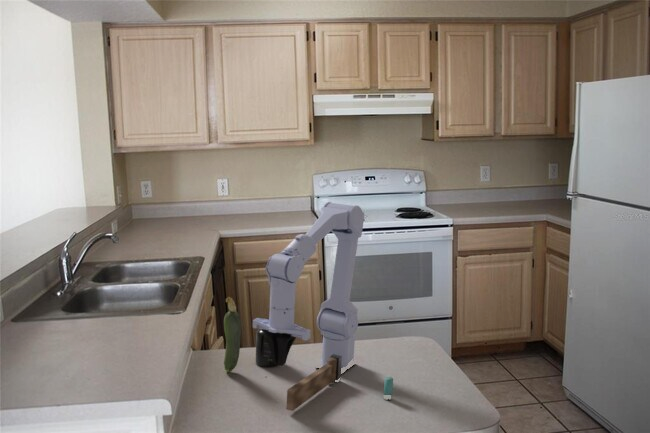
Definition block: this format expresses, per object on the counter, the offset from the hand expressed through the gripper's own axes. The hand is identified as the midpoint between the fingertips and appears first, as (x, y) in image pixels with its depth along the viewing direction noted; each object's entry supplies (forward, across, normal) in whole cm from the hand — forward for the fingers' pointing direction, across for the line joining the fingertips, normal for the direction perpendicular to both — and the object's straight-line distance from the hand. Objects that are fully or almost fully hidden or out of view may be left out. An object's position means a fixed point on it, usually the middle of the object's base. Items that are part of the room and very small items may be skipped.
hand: (279, 363), depth 135 cm
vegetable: (+9, -18, +5) cm, 20 cm away
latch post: (+8, +22, +14) cm, 27 cm away
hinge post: (+8, +6, +16) cm, 19 cm away
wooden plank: (+8, +7, +5) cm, 11 cm away
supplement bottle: (+9, -14, +16) cm, 23 cm away
